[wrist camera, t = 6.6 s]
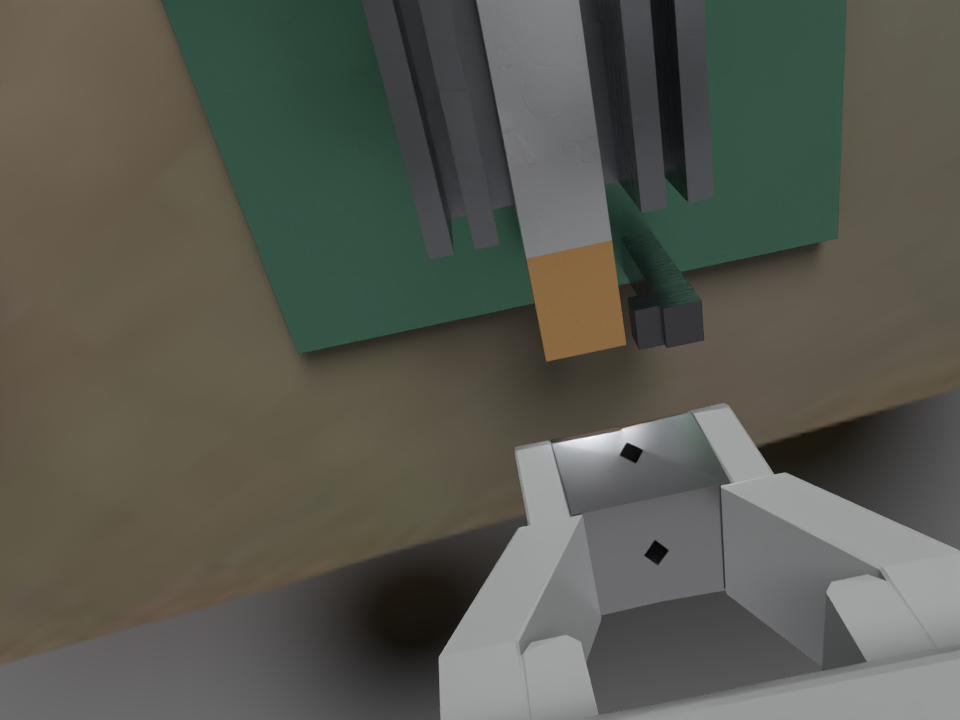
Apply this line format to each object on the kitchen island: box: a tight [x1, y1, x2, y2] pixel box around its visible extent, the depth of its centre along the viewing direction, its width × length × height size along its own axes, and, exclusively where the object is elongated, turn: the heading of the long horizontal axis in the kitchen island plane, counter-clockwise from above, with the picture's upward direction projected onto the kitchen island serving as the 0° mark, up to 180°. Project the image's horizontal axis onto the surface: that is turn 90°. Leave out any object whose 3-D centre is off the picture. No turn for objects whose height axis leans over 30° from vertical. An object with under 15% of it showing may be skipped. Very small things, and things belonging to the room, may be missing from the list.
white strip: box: [475, 0, 626, 362], centre depth 18 cm, size 3×14×1 cm, turn 12°
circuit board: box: [162, 0, 846, 354], centre depth 19 cm, size 18×16×6 cm
